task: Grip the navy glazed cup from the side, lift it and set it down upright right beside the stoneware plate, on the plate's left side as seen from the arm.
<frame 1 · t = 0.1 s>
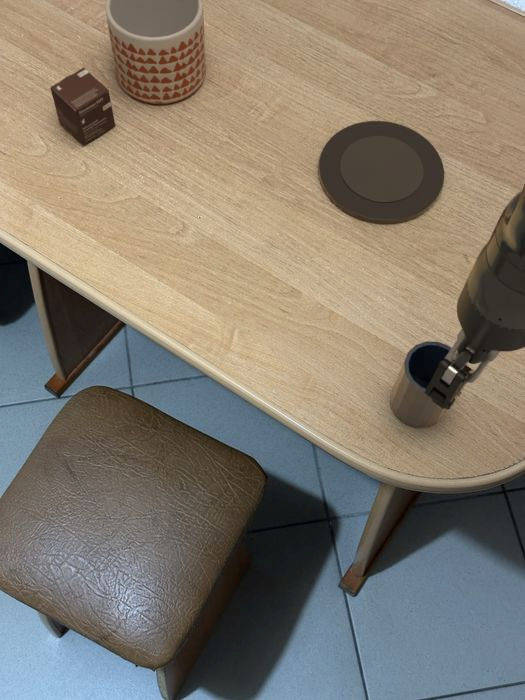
hand: (465, 372, 84), 20 cm above the table, tool pointing down, fingers open, 8 cm apart
cup: (417, 402, 104), on the table
box: (87, 125, 123), on the table
planter: (161, 73, 129), on the table
plate: (380, 173, 121), on the table
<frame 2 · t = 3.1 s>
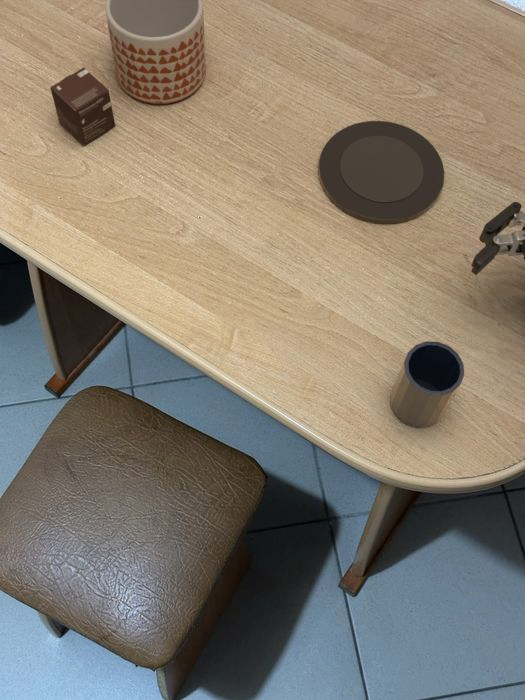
hand: (504, 293, 95), 14 cm above the table, tool horizontal, fingers open, 8 cm apart
nothing on the table moved.
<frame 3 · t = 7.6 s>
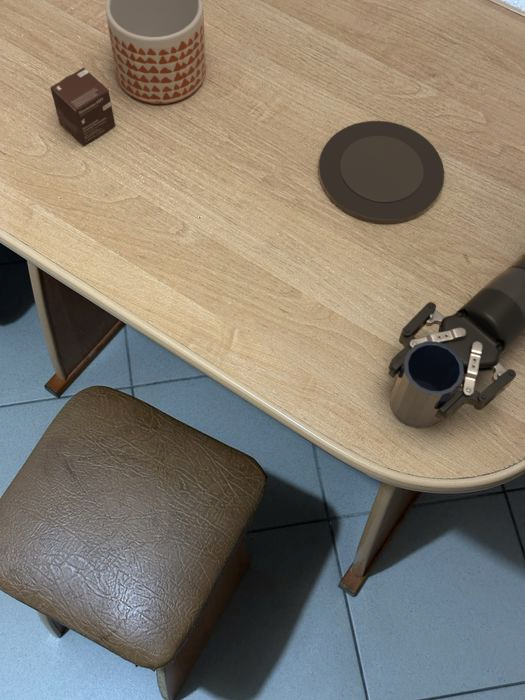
hand: (414, 394, 98), 6 cm above the table, tool horizontal, fingers closed on cup, 7 cm apart
cup: (417, 402, 104), on the table, touching gripper
everything else where it was.
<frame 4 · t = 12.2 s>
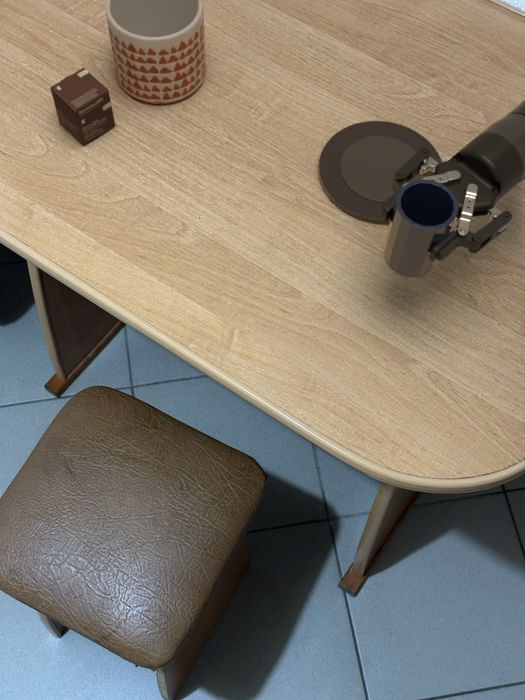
hand: (407, 235, 95), 17 cm above the table, tool horizontal, fingers closed on cup, 7 cm apart
cup: (410, 254, 101), point 11 cm above the table, touching gripper
everything else where it was.
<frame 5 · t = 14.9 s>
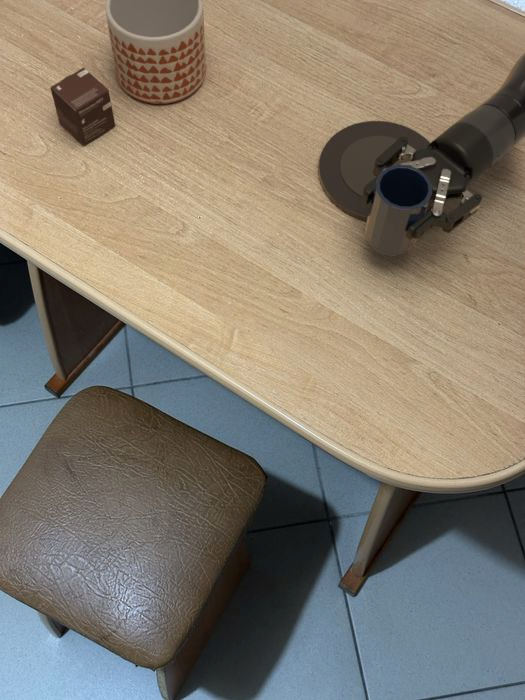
hand: (386, 216, 104), 11 cm above the table, tool horizontal, fingers closed on cup, 7 cm apart
cup: (390, 234, 110), point 5 cm above the table, touching gripper
everything else where it was.
when the fingers open (6 cm above the table, at t = 16.8 s): cup stays where it is, on the table.
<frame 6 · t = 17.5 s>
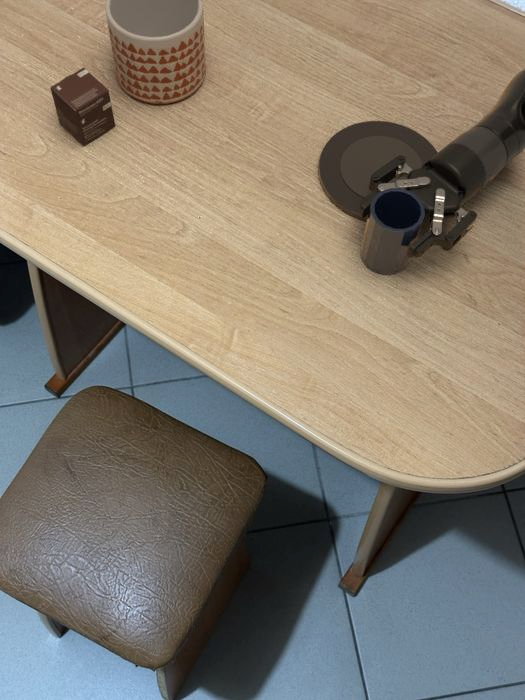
hand: (384, 233, 108), 7 cm above the table, tool horizontal, fingers open, 8 cm apart
cup: (385, 253, 114), on the table
everything else where it was.
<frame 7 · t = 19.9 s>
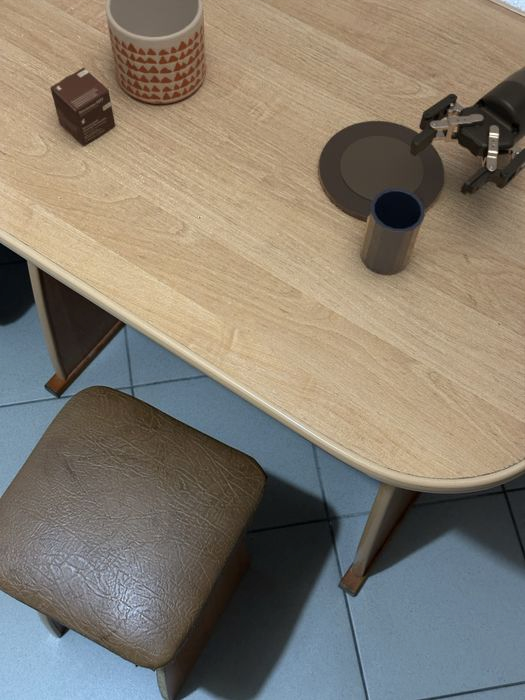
hand: (438, 169, 106), 12 cm above the table, tool horizontal, fingers open, 8 cm apart
nothing on the table moved.
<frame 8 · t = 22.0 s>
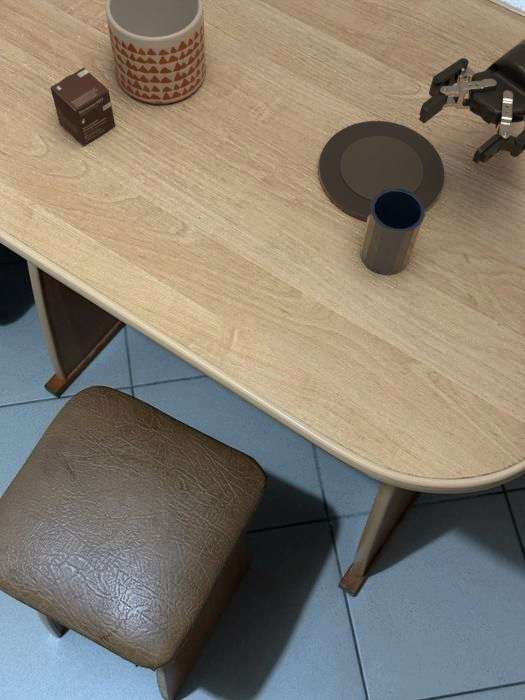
hand: (449, 137, 101), 18 cm above the table, tool horizontal, fingers open, 8 cm apart
nothing on the table moved.
at the end: cup inside the target area on the table beside the plate (0.1 cm from its centre), on the table; cup tilted 0°; the gripper is holding nothing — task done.
